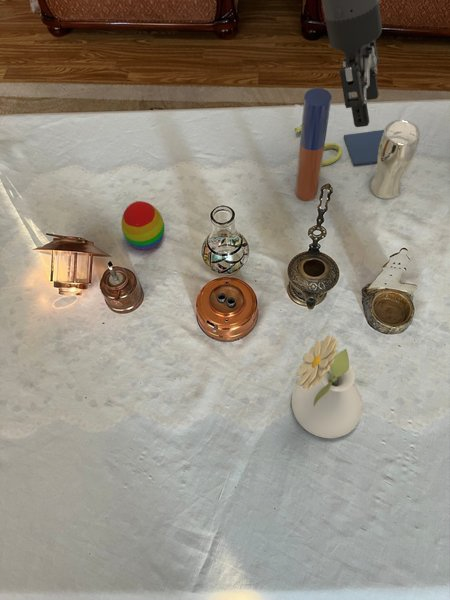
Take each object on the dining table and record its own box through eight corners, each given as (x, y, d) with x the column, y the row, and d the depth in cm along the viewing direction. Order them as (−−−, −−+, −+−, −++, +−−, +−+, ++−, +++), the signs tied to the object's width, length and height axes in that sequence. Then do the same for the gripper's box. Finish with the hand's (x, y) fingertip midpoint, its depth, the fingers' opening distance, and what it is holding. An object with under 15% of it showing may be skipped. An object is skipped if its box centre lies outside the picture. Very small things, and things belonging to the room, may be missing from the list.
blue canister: (321, 131, 99) (328, 86, 90) (327, 148, 97) (334, 103, 88) (297, 134, 99) (301, 89, 90) (302, 152, 97) (307, 107, 88)
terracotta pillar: (314, 183, 111) (321, 131, 99) (319, 199, 109) (327, 148, 97) (293, 186, 111) (297, 134, 99) (297, 202, 109) (302, 152, 97)
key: (300, 128, 120) (301, 121, 118) (345, 153, 115) (347, 145, 113) (281, 146, 117) (281, 138, 115) (326, 172, 113) (327, 164, 111)
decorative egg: (168, 222, 108) (161, 189, 99) (164, 255, 104) (156, 223, 95) (129, 222, 108) (118, 189, 100) (124, 255, 104) (112, 223, 95)
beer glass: (362, 180, 111) (376, 124, 98) (392, 172, 112) (410, 115, 99) (377, 204, 107) (393, 149, 94) (408, 195, 108) (428, 139, 95)
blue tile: (382, 132, 118) (383, 129, 117) (394, 161, 113) (395, 158, 112) (343, 137, 117) (343, 134, 117) (353, 166, 113) (354, 163, 112)
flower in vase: (323, 361, 90) (344, 285, 69) (375, 407, 86) (415, 341, 64) (269, 411, 86) (274, 347, 65) (321, 463, 82) (344, 412, 60)
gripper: (368, 21, 68) (383, 132, 79) (386, -20, 76) (397, 86, 87) (313, 33, 71) (334, 138, 82) (335, -7, 80) (352, 93, 91)
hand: (367, 111), depth 85 cm, fingers open, 8 cm apart
